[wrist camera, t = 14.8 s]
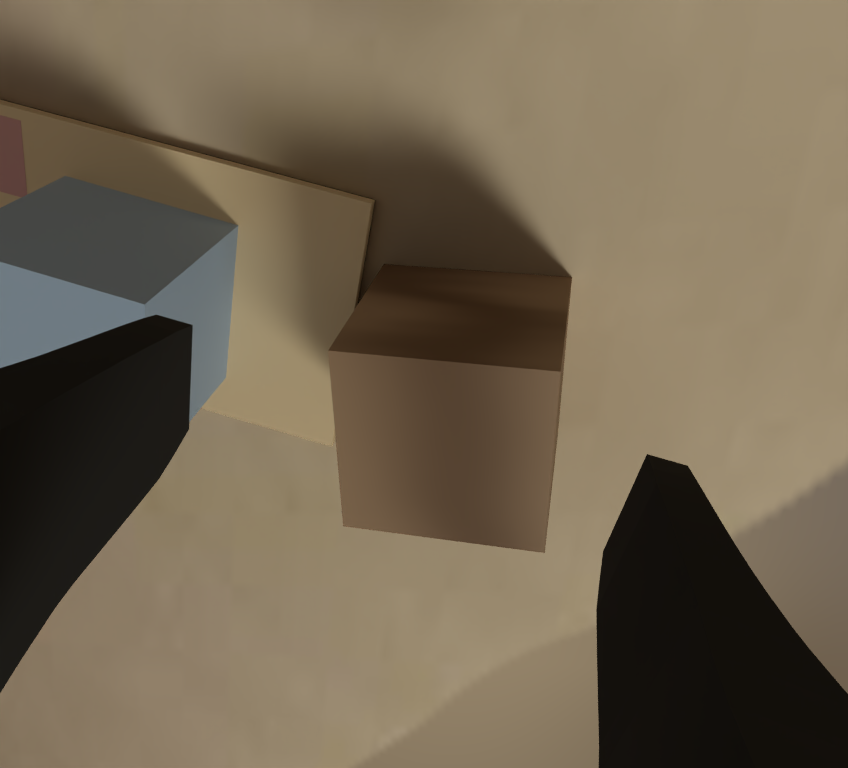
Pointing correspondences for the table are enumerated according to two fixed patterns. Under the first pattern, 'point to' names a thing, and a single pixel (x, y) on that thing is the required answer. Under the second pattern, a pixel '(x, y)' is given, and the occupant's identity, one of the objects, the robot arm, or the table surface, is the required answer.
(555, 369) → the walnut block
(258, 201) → the letter
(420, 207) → the table surface
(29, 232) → the slate cube
